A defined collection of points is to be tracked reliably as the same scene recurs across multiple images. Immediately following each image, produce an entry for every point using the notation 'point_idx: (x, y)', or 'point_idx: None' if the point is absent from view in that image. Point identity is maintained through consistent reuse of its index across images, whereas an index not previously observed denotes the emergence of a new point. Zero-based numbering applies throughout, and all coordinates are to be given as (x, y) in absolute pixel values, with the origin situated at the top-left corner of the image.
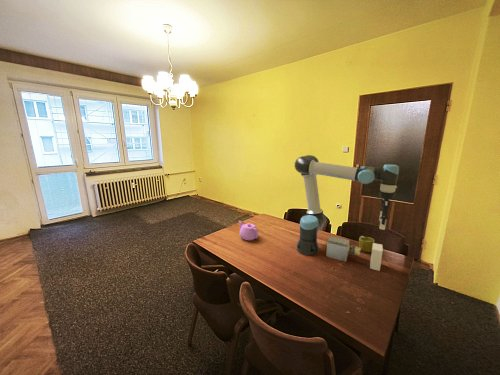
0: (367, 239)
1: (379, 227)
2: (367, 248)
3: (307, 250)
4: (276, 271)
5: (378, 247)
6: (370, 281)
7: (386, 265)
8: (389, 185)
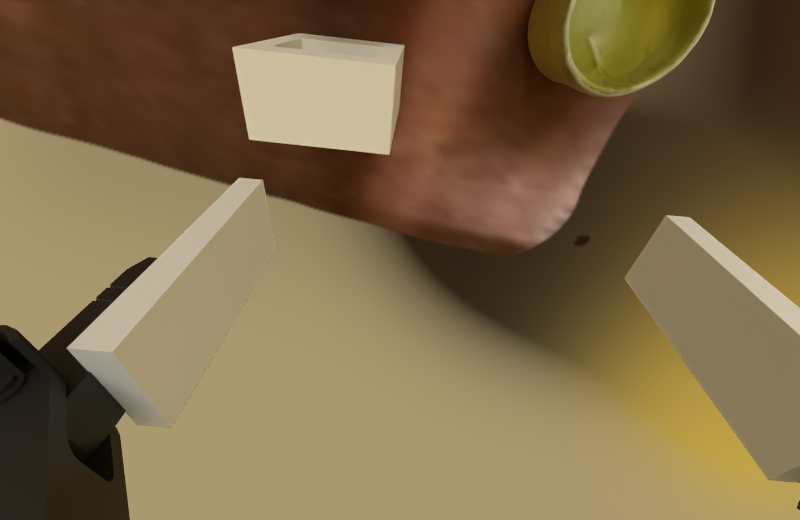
0: (680, 28)
1: (243, 189)
2: (537, 24)
3: None
4: None
5: (310, 112)
6: (146, 26)
7: None
8: None
